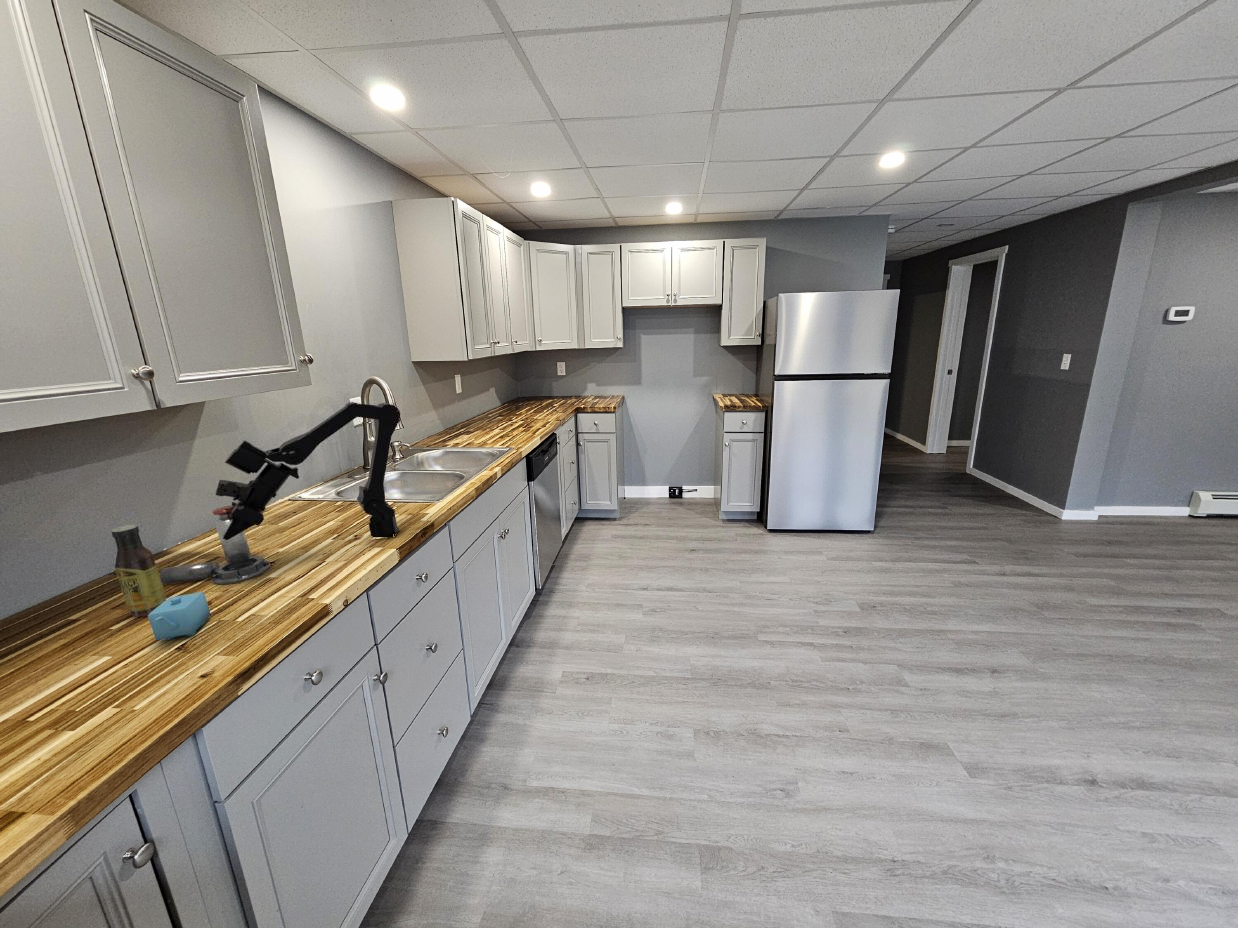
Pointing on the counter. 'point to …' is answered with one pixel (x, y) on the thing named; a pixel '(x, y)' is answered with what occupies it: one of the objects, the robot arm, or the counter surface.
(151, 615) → the teapot
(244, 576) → the dark grey handled piece
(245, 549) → the jar with red lid
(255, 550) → the counter surface
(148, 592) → the sauce bottle
